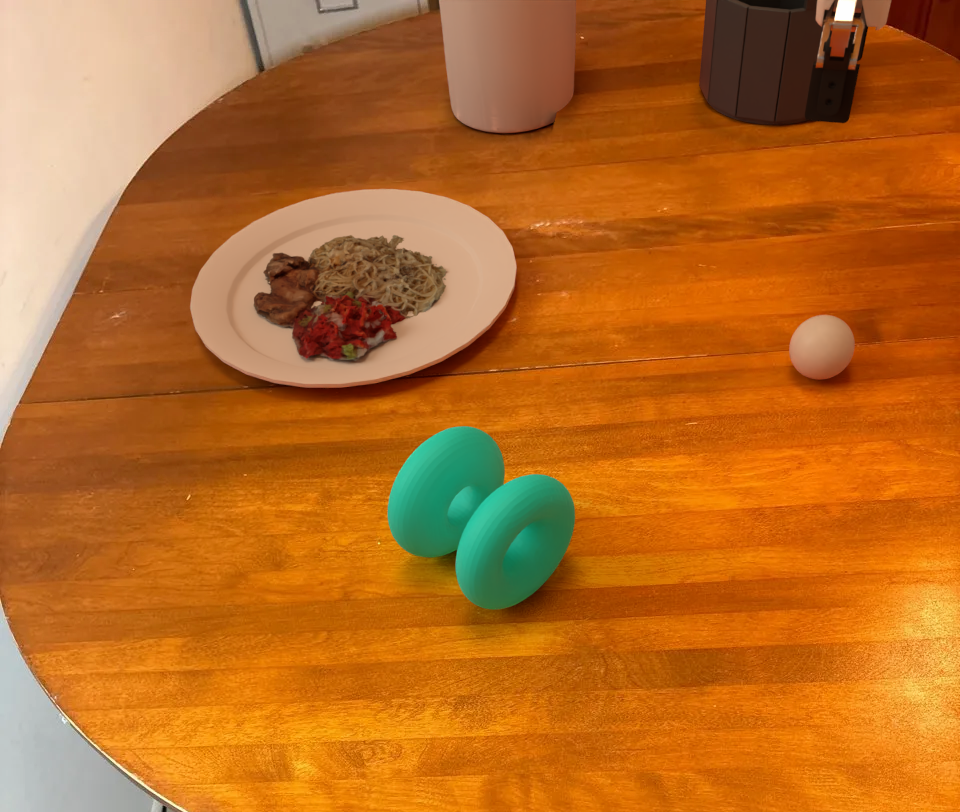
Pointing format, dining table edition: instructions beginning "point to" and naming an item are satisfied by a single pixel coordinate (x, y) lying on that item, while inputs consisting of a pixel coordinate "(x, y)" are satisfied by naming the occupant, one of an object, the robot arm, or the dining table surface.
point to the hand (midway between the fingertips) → (833, 88)
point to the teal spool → (481, 517)
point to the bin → (759, 58)
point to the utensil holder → (509, 61)
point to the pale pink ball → (822, 347)
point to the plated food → (353, 288)
